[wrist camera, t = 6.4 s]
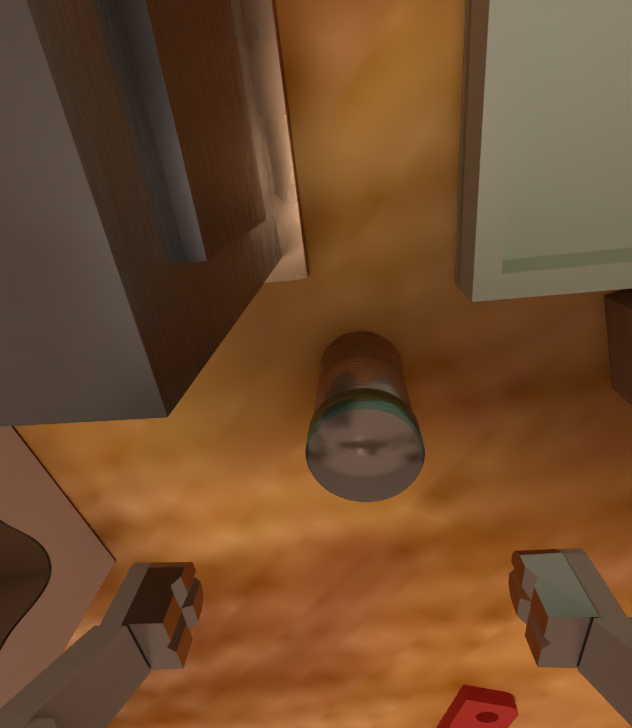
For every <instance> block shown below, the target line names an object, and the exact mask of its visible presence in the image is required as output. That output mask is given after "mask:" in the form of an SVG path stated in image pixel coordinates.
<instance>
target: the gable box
mask: <svg viewBox="0 0 632 728" xmlns="http://www.w3.org/2000/svg"><path fill="white" fill-rule="evenodd" d="M113 565H114V559H113V557H112V556H111V555H110V553H109V552H108V551H107V550H106V548H105V547H104V546H103V544H102V543H101V542H100V540H99V539H98V538H97V537H96V535H95V534H94V533H93V531H92V530H91V529H90V527H89V526H88V525H87V524H86V522H85V521H84V520H83V518H82V517H81V516H80V515H79V513H78V512H77V511H76V509H75V508H74V507H73V505H72V504H71V503H70V502H69V500H68V499H67V498H66V496H65V495H64V494H63V492H62V491H61V490H60V489H59V487H58V486H57V485H56V483H55V482H54V481H53V479H52V478H51V477H50V476H49V474H48V473H47V472H46V470H45V469H44V468H43V466H42V465H41V464H40V463H39V461H38V460H37V459H36V457H35V456H34V455H33V453H32V452H31V451H30V450H29V448H28V447H27V446H26V444H25V443H24V442H23V440H22V439H21V438H20V437H19V435H18V434H17V433H16V431H15V430H14V429H13V428H12V426H2V427H0V708H1V707H2V706H3V705H5V704H6V703H7V702H8V701H9V700H10V699H11V698H13V697H14V696H15V695H16V694H17V693H18V692H19V691H21V690H22V689H23V688H24V687H25V686H26V685H27V684H29V683H30V682H31V681H32V680H33V679H34V678H35V677H37V676H38V675H39V674H40V673H41V672H42V671H43V670H45V669H46V668H47V667H48V666H49V665H50V664H51V663H53V662H54V661H55V660H56V659H57V658H58V657H59V656H60V655H61V654H62V652H63V650H64V649H65V647H66V645H67V644H68V642H69V640H70V638H71V637H72V635H73V633H74V632H75V630H76V628H77V627H78V625H79V623H80V622H81V620H82V618H83V616H84V615H85V613H86V611H87V610H88V608H89V606H90V605H91V603H92V601H93V599H94V598H95V596H96V594H97V593H98V591H99V589H100V588H101V586H102V584H103V583H104V581H105V579H106V577H107V576H108V574H109V572H110V571H111V569H112V567H113Z"/></svg>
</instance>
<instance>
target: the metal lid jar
mask: <svg viewBox="0 0 632 728" xmlns="http://www.w3.org/2000/svg"><path fill="white" fill-rule="evenodd" d="M424 457H425V450H424V444H423V440H422V436H421V432H420V429H419V425H418V421H417V418H416V416H415V414H414V413H413V411H412V407H411V403H410V399H409V395H408V391H407V387H406V383H405V379H404V375H403V371H402V366H401V362H400V358H399V355H398V353H397V351H396V349H395V348H394V346H393V345H392V344H391V343H390V342H389V341H388V340H386V339H385V338H384V337H382V336H380V335H377V334H375V333H371V332H364V331H358V332H351V333H348V334H345V335H342V336H341V337H339V338H337V339H336V340H334V341H333V342H332V343H331V344H330V345H329V346H328V348H327V349H326V351H325V353H324V355H323V358H322V362H321V369H320V376H319V382H318V389H317V396H316V402H315V409H314V415H313V417H312V419H311V422H310V426H309V431H308V438H307V444H306V460H307V464H308V467H309V469H310V471H311V473H312V474H313V476H314V477H315V479H316V480H317V481H318V483H319V484H320V485H321V486H323V487H324V488H325V489H326V490H328V491H329V492H331V493H333V494H334V495H337V496H339V497H341V498H344V499H348V500H352V501H359V502H372V501H380V500H384V499H388V498H390V497H393V496H395V495H397V494H399V493H401V492H402V491H404V490H405V489H407V488H408V487H409V486H410V485H411V484H412V483H413V482H414V481H415V479H416V478H417V476H418V474H419V473H420V471H421V469H422V466H423V463H424Z"/></svg>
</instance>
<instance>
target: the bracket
mask: <svg viewBox="0 0 632 728" xmlns="http://www.w3.org/2000/svg"><path fill="white" fill-rule="evenodd" d="M517 716H518V711H517V707H516V704H515V701H514V697H513V696H512V695H511V694H510V693H507V692H502V691H496V690H490V689H485V688H479V687H473V686H467V685H463V686H462V688H461V689H460V691H459V693H458V694H457V696H456V697H455V699H454V701H453V702H452V704H451V705H450V707H449V709H448V710H447V712H446V713H445V715H444V717H443V718H442V720H441V721H440V723H439V725H438V726H437V728H508V727H509V726H510V725H511V723H512V722H513V721H514V720H515V718H516V717H517Z"/></svg>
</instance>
